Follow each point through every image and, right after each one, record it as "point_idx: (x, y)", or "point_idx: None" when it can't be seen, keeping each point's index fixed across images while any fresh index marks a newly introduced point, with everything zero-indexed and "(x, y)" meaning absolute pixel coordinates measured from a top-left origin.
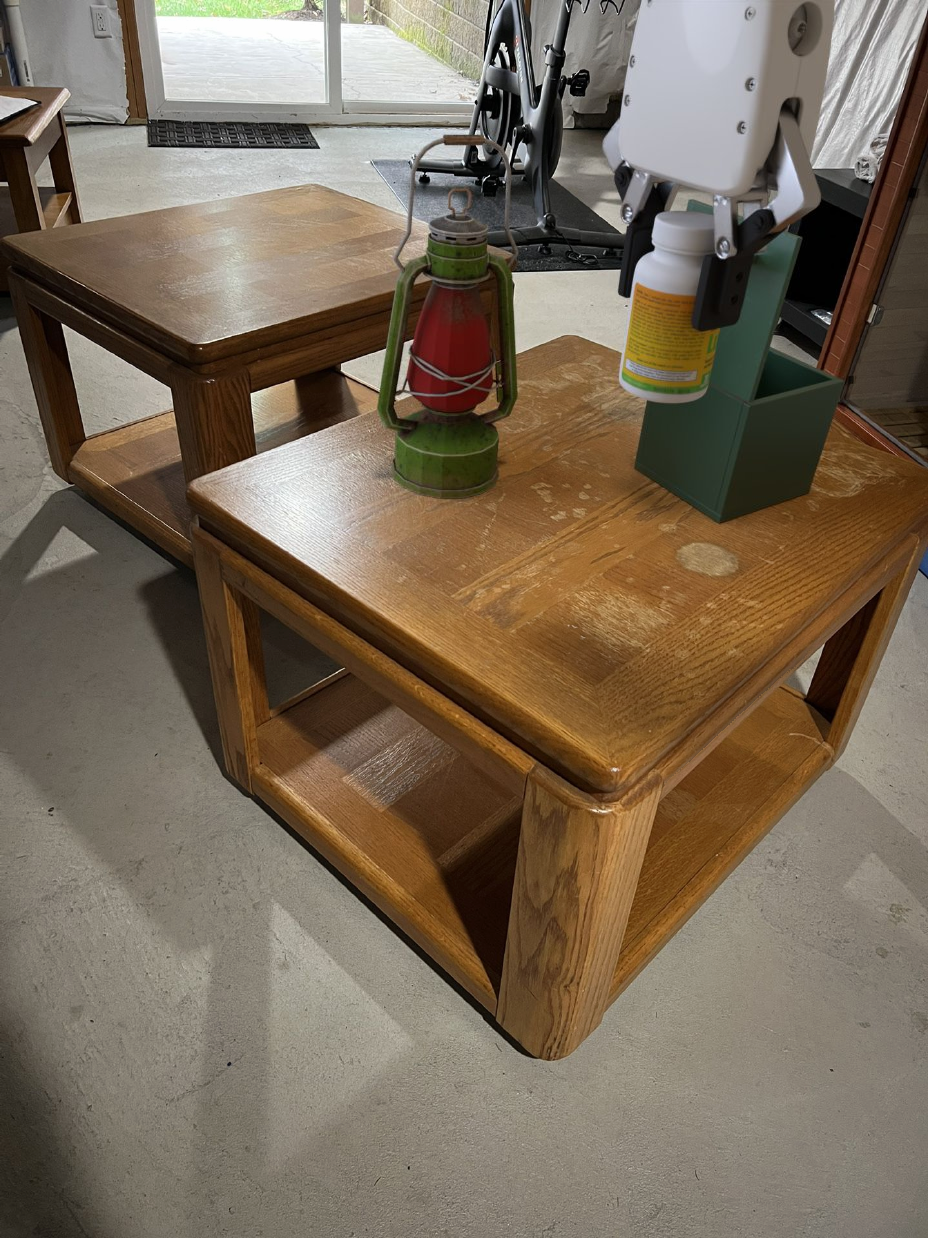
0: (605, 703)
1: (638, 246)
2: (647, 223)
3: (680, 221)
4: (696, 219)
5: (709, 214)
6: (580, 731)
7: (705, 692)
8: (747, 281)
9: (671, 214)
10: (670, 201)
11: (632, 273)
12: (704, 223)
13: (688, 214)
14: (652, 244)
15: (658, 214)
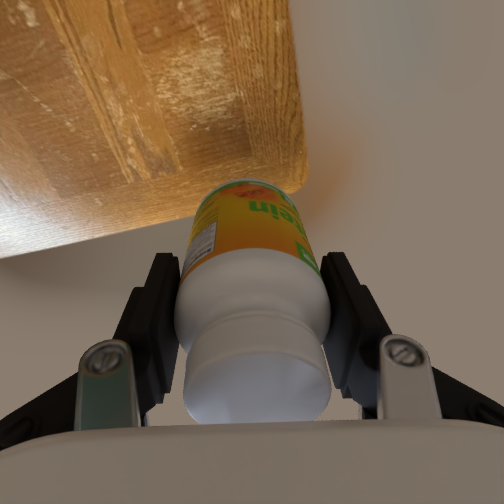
0: (268, 159)
1: (172, 366)
2: (157, 386)
3: (259, 419)
4: (262, 394)
5: (240, 355)
6: None
7: (297, 89)
8: (382, 315)
9: (211, 409)
10: (135, 383)
11: None
12: (291, 397)
13: (224, 387)
14: (168, 343)
15: (201, 423)
